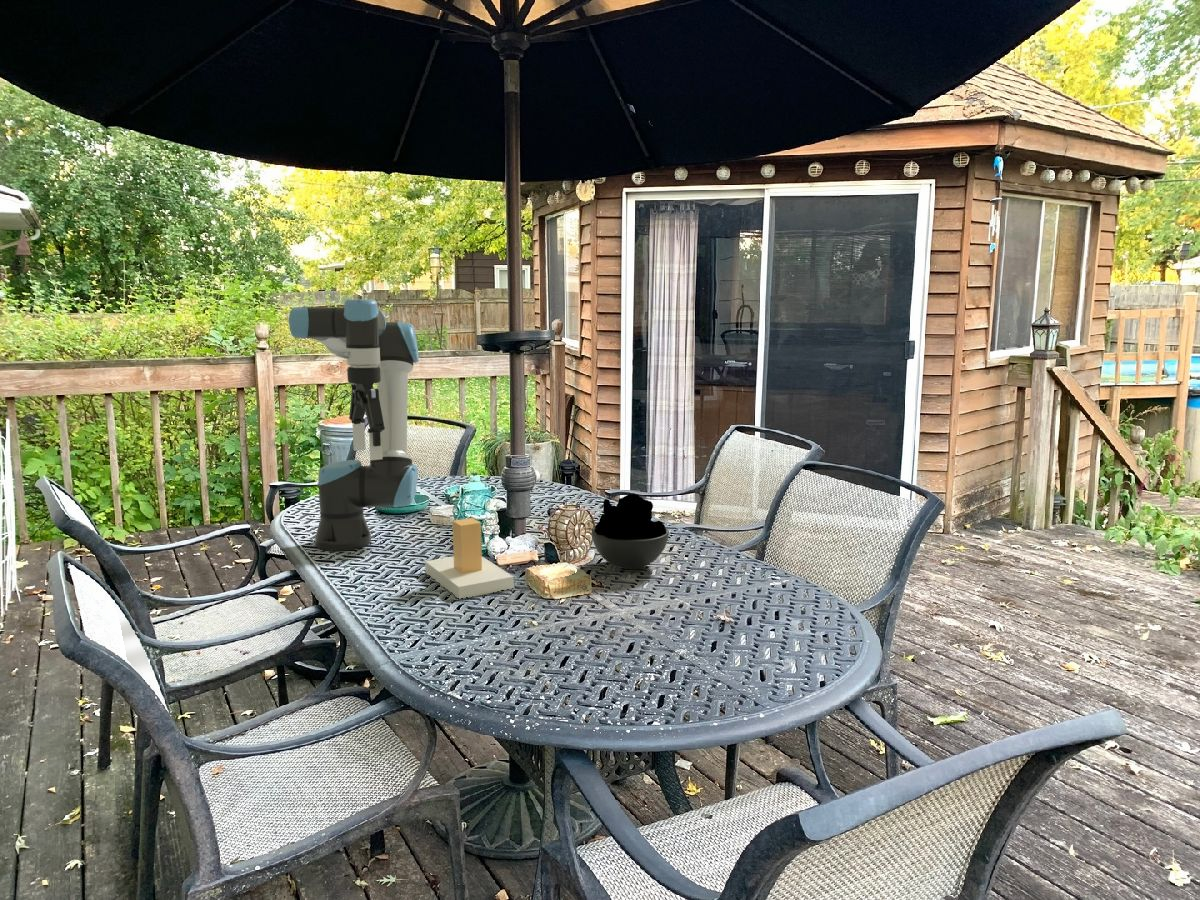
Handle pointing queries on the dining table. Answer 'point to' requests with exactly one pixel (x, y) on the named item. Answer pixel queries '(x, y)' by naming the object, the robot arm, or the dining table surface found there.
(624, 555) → the coal bowl
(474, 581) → the plate
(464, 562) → the tan upright carton
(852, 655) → the dining table surface
